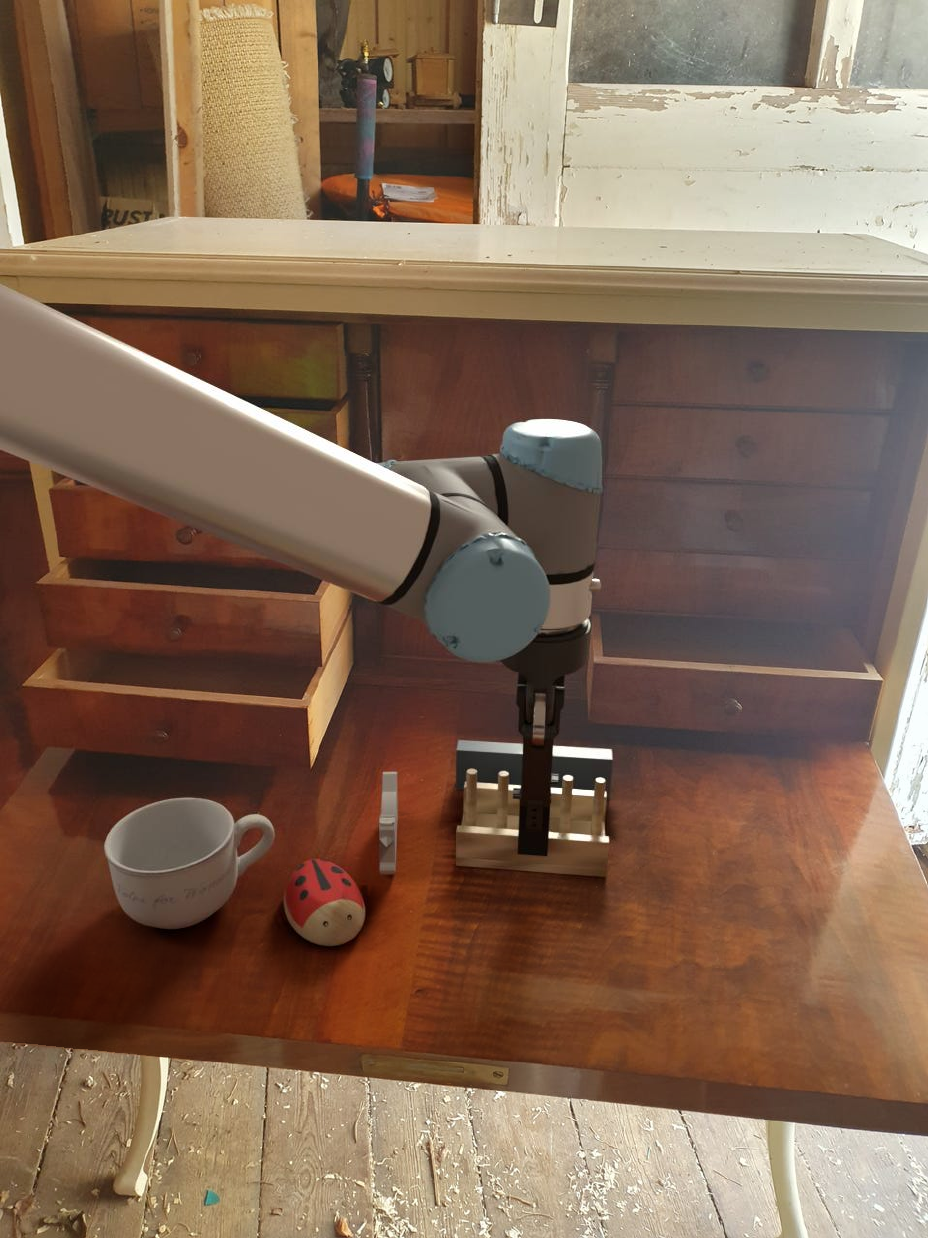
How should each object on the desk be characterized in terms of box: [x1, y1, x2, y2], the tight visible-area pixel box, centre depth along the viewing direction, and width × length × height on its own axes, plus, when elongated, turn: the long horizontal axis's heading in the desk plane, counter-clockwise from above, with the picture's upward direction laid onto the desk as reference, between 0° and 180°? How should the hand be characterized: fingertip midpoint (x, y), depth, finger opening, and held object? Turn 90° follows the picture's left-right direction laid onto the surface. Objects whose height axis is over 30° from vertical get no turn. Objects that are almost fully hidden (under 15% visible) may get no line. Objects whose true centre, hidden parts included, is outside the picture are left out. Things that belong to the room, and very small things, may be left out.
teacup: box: [103, 797, 276, 930], centre depth 84 cm, size 14×11×8 cm
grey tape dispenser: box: [378, 771, 399, 875], centre depth 91 cm, size 6×1×10 cm
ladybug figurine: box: [283, 858, 366, 947], centre depth 84 cm, size 7×10×4 cm
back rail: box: [455, 739, 614, 801], centre depth 100 cm, size 16×2×5 cm, turn 85°
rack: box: [455, 769, 610, 878], centre depth 92 cm, size 14×8×8 cm, turn 84°
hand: (532, 850), depth 88 cm, fingers closed
